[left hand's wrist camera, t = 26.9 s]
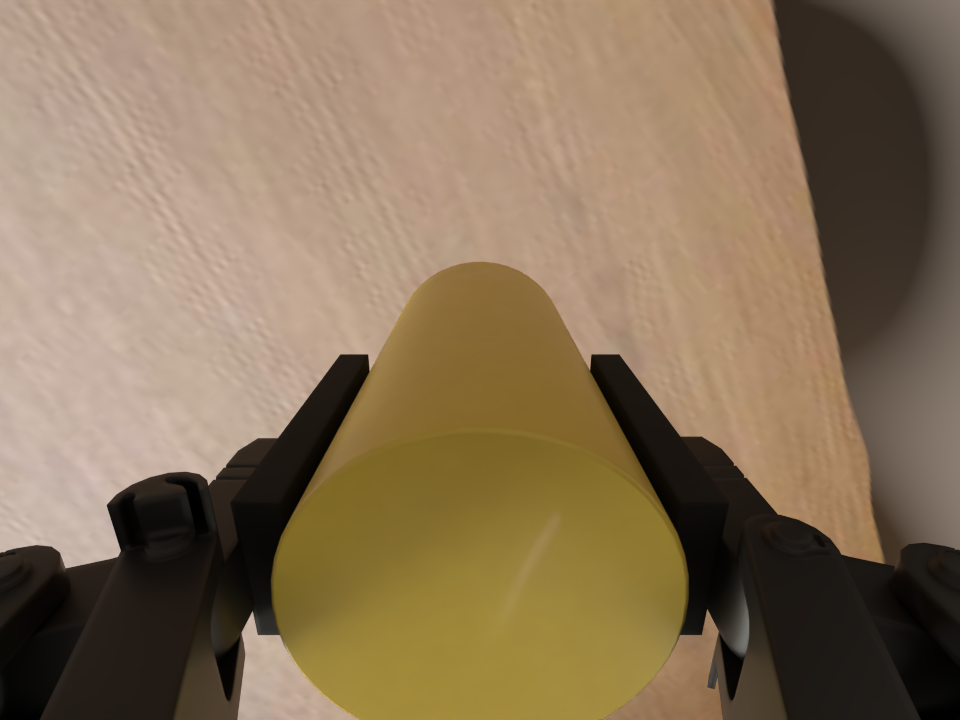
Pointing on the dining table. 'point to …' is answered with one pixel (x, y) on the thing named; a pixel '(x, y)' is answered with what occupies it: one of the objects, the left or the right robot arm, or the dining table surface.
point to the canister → (479, 526)
